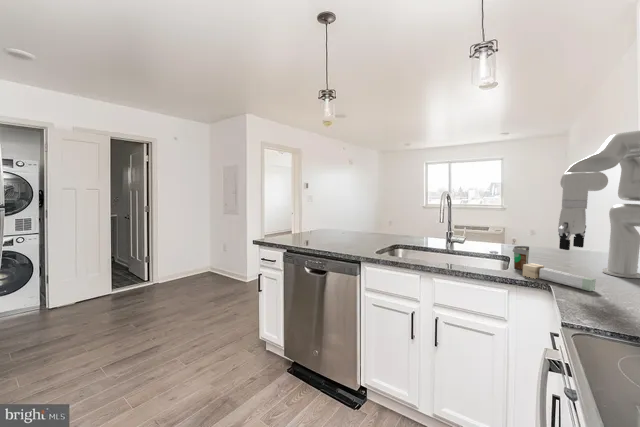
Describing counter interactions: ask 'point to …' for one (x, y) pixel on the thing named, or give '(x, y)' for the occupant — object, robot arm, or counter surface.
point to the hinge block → (532, 270)
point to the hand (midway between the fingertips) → (571, 248)
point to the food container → (520, 256)
